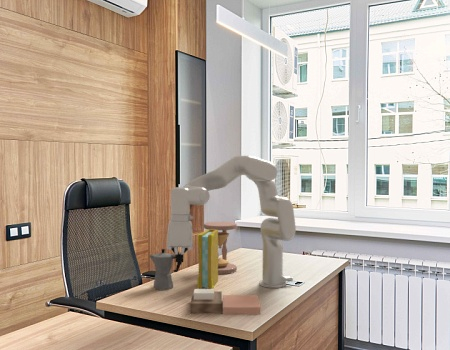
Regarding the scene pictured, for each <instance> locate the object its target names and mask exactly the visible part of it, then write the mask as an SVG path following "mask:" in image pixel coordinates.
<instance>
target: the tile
mask: <svg viewBox="0 0 450 350" xmlns="http://www.w3.org/2000/svg"><path fill="white" fill-rule="evenodd" d="M193 291H194V300H214V291H215V288H213V289H208V288H203V289H198V288H194V290H193Z"/></svg>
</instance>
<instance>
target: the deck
mask: <svg viewBox="0 0 450 350" xmlns="http://www.w3.org/2000/svg"><path fill="white" fill-rule="evenodd" d="M222 293H223V292H222V291H218V290H217V291H215V290H214V300H194V290H193V291H192V294H191V300H190V305H189V307H190V310H189V312H190V315H192V314H193V315H195V314H196V315H197V314H198V315H200V314H201V315H203V314H204V315H205V314H206V315H211V314H213V315H216V314H217V315H221V314H223V294H222Z"/></svg>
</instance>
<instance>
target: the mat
mask: <svg viewBox="0 0 450 350" xmlns="http://www.w3.org/2000/svg"><path fill="white" fill-rule="evenodd" d="M222 314H224V315H226V314H227V315H229V314H230V315H233V314H235V315H236V314H237V315H242V314H243V315H246V314H247V315H248V314H249V315H251V314H252V315H253V314H255V315H256V314H257V315H261V305H260V301H259V296H258V294H222Z"/></svg>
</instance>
